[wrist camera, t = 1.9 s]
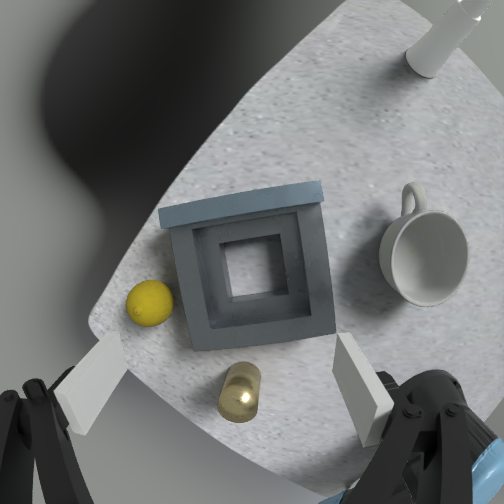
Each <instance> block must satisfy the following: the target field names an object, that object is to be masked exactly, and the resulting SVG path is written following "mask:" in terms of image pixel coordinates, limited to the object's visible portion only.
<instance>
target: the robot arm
mask: <svg viewBox="0 0 504 504" xmlns="http://www.w3.org/2000/svg"><path fill="white" fill-rule="evenodd" d="M127 369H128V367H127V363H126V359H125V355H124V351H123V347H122V342H121V338H120V333H119V332H116V331H108V332H107V333H106V334H105V335H104V337H103V338H102V339H101V340H100V341H99V342H98V343H97V344H96V345H95V346H94V347H93V348H92V349H91V350H90V351H89V353H88V354H87V355H86V356H85V357H84V358H83V359H82V360H81V361H80V362H79V363H78V364H77V365H76V366H72V367H70V368H69V369H67V370H66V371H65V372H64V373H63V374H62V375H61V376H60V377H59V378H58V380H57V381H55V383H54V384H53V385H52V386H51V387H50V388H49V389H48V390H47V389H46V386H45V384H44V382H43V381H42V380H41V379H37V378H36V379H31V380H28V381H27V382H25V383H24V384H23V387H22V389H23V391H24V393H25V395H26V397H27V399H22V398H20V397H19V395H18V393H17V392H16V391H15V390H7V391H4V392H3V393H2V394H1V395H0V504H32V489H33V471H34V460H36V465H37V470H38V475H39V480H40V484H41V488H42V491H43V496H44V499H45V503H46V504H94V502H93V500H92V498H91V496H90V493H89V491H88V489H87V486H86V484H85V481H84V478H83V476H82V473H81V471H80V468H79V465H78V462H77V459H76V457H75V453H74V450H73V447H72V444H71V440H70V437H69V434H68V431H67V430H66V428H67V426H68V425H70V427H71V429H72V430H73V432H75V433H78V434H82V435H86V433H87V432H88V430H89V429H90V427H91V425H92V424H93V422H94V420H95V419H96V417H97V416H98V414H99V412H100V411H101V409H102V408H103V406H104V404H105V403H106V401H107V400H108V398H109V397H110V395H111V393H112V392H113V390H114V389H115V387H116V386H117V384H118V383H119V381H120V379H121V378H122V376H123V375H124V373H125V372H126V370H127ZM332 372H333V374H334V376H335V379H336V381H337V384H338V386H339V389H340V391H341V393H342V396H343V398H344V401H345V403H346V406H347V408H348V411H349V413H350V416H351V418H352V421H353V423H354V426H355V428H356V431H357V433H358V436H359V438H360V441H361V443H362V446H363V448H366V447H370V446H375V445H378V444H379V442H380V440H381V437H382V438H383V441H382V443H381V444H380V446H379V448H378V450H377V452H376V453H375V455H374V457H373V459H372V460H371V462H370V464H369V465H368V467H367V469H366V470H365V472H364V474H363V475H362V477H361V478H360V480H359V481H358V483H357V484H356V486H355V487H354V488H352V489H350V490H344V491H342V492H341V493H340V494H338V495H335V496H333V497H330V498H328V499H325V500H323V501H321V502H320V503H319V504H414V503H415V504H487V503H488V501H490V500H491V498H492V497H493V496H494V495H495V494H496V493H497V491H498V490H499V489H500V488H501V487H502V485H503V484H504V444H503V441H502V439H500V438H498V437H497V436H496V435H495V434H494V433H493V432H492V431H491V430H490V429H489V428H488V426H487V425H485V423H484V422H483V421H482V420H481V419H480V418H479V417H478V416H477V415H476V414H475V413H474V412H473V411H472V410H471V409H470V408H469V407H468V405H467V402H466V399H465V397H464V394H463V391H462V388H461V386H460V384H459V382H458V381H457V380H456V379H455V378H454V377H453V376H452V375H451V374H450V373H448V372H447V371H444V370H430V371H426V372H423V373H421V374H418V375H416V376H415V377H413V378H411V379H410V380H408V381H407V382H405V383H404V384H403V385H402V386H400V387H399V386H398V385H397V383H396V382H395V380H394V379H393V377H392V376H391V375H389V374H388V373H386V372H385V371H382V372H375V371H374V370H373V368H372V366H371V365H370V363H369V362H368V360H367V359H366V357H365V355H364V354H363V352H362V351H361V349H360V348H359V346H358V345H357V343H356V341H355V340H354V338H353V337H352V335H351V334H350V332H348V333H337V341H336V349H335V356H334V363H333V370H332ZM407 461H408V462H407ZM401 474H402V475H401ZM406 485H407V486H406ZM407 487H408V488H407ZM408 489H409V490H408ZM410 494H411V495H410ZM411 496H412V497H411Z"/></svg>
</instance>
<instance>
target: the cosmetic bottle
mask: <svg viewBox="0 0 504 504" xmlns="http://www.w3.org/2000/svg"><path fill="white" fill-rule="evenodd" d="M494 1H495V0H457V1H456V2H455V3H454V4H453V5H452V6H451V7H450V8H449V9H448V11H447V12H446V13H445V14H444V15H443V16H442V17H441V18H440V19H439V20H438V21H437V22H436V24H435V25H434V26H433V27H432V28H431V29H430V30H429V31H428V32H427V33H426V34H425V35H424V36H423V37H422V38H421V39H420V40H419V41H418V42H417V43H415V44H414V45H413V46H412V47H410V48H409V49H408V50H407V51H406V59H407V61H408V63H409V65H410V66H411V68H412V69H413V70H414V71H416V72H417V73H418V74H420V75H422V76H424V77H427V78H433V77H435V76H436V75H437V74H438V72H439V70H440V69H441V67H442V66H443V64H444V63H445V61H446V60H447V59H448V58H449V56H450V55H451V54H452V53H453V52H454V50H455V49H456V48H457V47H458V46H459V45H460V44H461V42H462V41H463V40H464V39H465V38H466V37H467V36H468V35H469V33H470V32H471V31H472V30H473V29H474V28H475V26H476V25H477V24H478V23H479V22H480V20H481V17H480V15H481V14H482V13H483V12H484V11H485V10H486V9H487V8H488V7H489V6H490V5H491V4H492V3H493V2H494Z"/></svg>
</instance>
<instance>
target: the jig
mask: <svg viewBox="0 0 504 504" xmlns="http://www.w3.org/2000/svg"><path fill="white" fill-rule="evenodd" d="M323 201H324V197H323V192H322V186H321V181H320V180H318V181H311V182H304V183H297V184H290V185H283V186H277V187H270V188H264V189H258V190H252V191H246V192H240V193H235V194H229V195H224V196H218V197H213V198H208V199H203V200H198V201H193V202H188V203H183V204H179V205H174V206H169V207H165V208H160V209H158V213H159V220H160V226H161V229H169V230H170V236H171V242H172V248H173V254H174V260H175V265H176V271H177V276H178V281H179V286H180V291H181V296H182V301H183V306H184V311H185V315H186V320H187V324H188V329H189V333H190V337H191V341H192V345H193V350H194V351H206V350H218V349H229V348H239V347H248V346H257V345H265V344H272V343H280V342H287V341H293V340H300V339H306V338H312V337H318V336H323V335H329V334H334V333H336V323H335V312H334V302H333V292H332V283H331V275H330V267H329V259H328V252H327V244H326V237H325V231H324V224H323V218H322V212H321V206H320V203H321V202H323ZM273 234H280V240H281V246H282V253H283V259H284V266H285V273H286V279H287V286H288V289H284V290H277V291H270V292H264V293H257V294H250V295H242V296H235V297H233V296H232V290H231V285H230V279H229V273H228V267H227V262H226V256H225V250H224V244H223V243H224V242H230V241H236V240H242V239H248V238H254V237H261V236H267V235H273Z"/></svg>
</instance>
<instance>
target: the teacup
mask: <svg viewBox="0 0 504 504" xmlns="http://www.w3.org/2000/svg"><path fill="white" fill-rule="evenodd" d="M413 196H414V199H415V209H414V210H413ZM469 259H470V250H469V243H468V240H467V237H466V234H465V231H464V229H463V228H462V226H461V225H460V223H459V222H458V221H457V220H456V219H455V218H454V217H452V216H451V215H449V214H448V213H445V212H442V211H438V210H429V211H427V196H426V193H425V191H424V189H423V187H422V186H421V185H420V184H418V183H415V182H412V183H408V184H407V185H405V186H404V188H403V191H402V211H401V217H399V218H398V219H397V220H395V221H394V222H393V223H392V224H391V225H390V226H389V227H388V228H387V230H386V231H385V233H384V235H383V238H382V240H381V243H380V248H379V263H380V267H381V271H382V273H383V275H384V277H385V279H386V280H387V282H388V283H389V284H390V285H391V286H392V288H393V289H395V290H396V291H397V292H398V293H400V294H401V295H402V296H403V298H405V299H406V300H407V301H408V302H410V303H411V304H414V305H417V306H420V307H433V306H438V305H440V304H442V303H444V302H446V301H447V300H449V299H450V298H451V297H452V296H453V295H454V294H455V293H456V292H457V291H458V289H459V288H460V286H461V285H462V283H463V281H464V279H465V276H466V274H467V270H468V266H469Z"/></svg>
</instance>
